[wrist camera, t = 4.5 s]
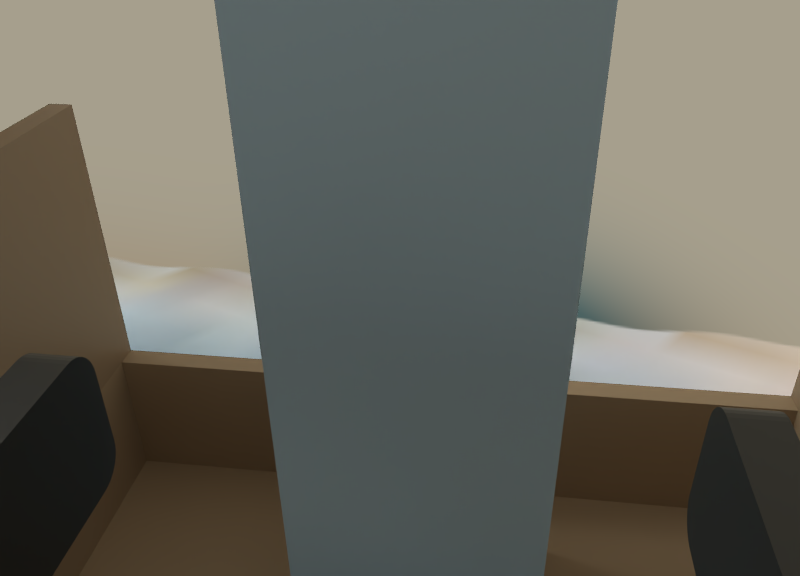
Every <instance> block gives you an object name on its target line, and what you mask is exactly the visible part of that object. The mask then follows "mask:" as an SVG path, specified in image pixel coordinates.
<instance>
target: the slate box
mask: <svg viewBox="0 0 800 576" xmlns="http://www.w3.org/2000/svg"><path fill="white" fill-rule="evenodd" d="M214 1H215V9H216V16H217V24H218V31H219V39H220V47H221V54H222V61H223V69H224V76H225V84H226V92H227V99H228V107H229V115H230V122H231V129H232V137H233V145H234V152H235V160H236V167H237V175H238V182H239V190H240V198H241V205H242V213H243V220H244V228H245V235H246V243H247V250H248V258H249V266H250V273H251V281H252V288H253V296H254V303H255V311H256V318H257V326H258V334H259V341H260V349H261V356H262V364H263V371H264V379H265V386H266V394H267V402H268V409H269V417H270V424H271V432H272V439H273V447H274V454H275V462H276V469H277V477H278V485H279V492H280V500H281V507H282V515H283V522H284V530H285V537H286V545H287V553H288V560H289V568H290V575H291V576H544V571H545V563H546V555H547V548H548V540H549V532H550V524H551V516H552V509H553V501H554V493H555V485H556V477H557V470H558V462H559V454H560V446H561V438H562V431H563V423H564V415H565V407H566V399H567V392H568V384H569V376H570V368H571V360H572V352H573V345H574V337H575V329H576V321H577V313H578V306H579V298H580V289H581V282H582V274H583V267H584V258H585V251H586V243H587V235H588V228H589V219H590V212H591V204H592V196H593V188H594V180H595V173H596V165H597V157H598V149H599V142H600V133H601V126H602V117H603V110H604V103H605V102H604V101H605V95H606V87H607V79H608V71H609V64H610V56H611V48H612V40H613V32H614V24H615V17H616V9H617V1H618V0H214Z"/></svg>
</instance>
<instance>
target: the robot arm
mask: <svg viewBox="0 0 800 576" xmlns="http://www.w3.org/2000/svg"><path fill="white" fill-rule="evenodd" d="M115 459H116V447H115V441H114V437H113V433H112V430H111V426H110V423H109V419H108V415H107V412H106V408H105V404H104V401H103V397H102V394H101V390H100V386H99V383H98V379H97V375H96V372H95V369H94V367H93V365H92V363H91V362H90V361H89V360H88V359H87V358H85V357H78V356H65V355H52V354H39V353H28V354H25V355H23V356H22V357H20V358H19V359H18V360H17V361H16V362H15V363H14V364H13V365H12V366H11V367H10V368H9V369H8V370H7V371H6V372H5V374H4V375H3V376H2V377H1V378H0V576H53V574H54V573H55V571H56V569H57V568H58V566H59V565H60V563H61V561H62V560H63V558H64V557H65V555H66V553H67V552H68V550H69V549H70V547H71V545H72V544H73V542H74V541H75V539H76V537H77V536H78V534H79V533H80V531H81V529H82V528H83V526H84V525H85V523H86V521H87V520H88V518H89V517H90V515H91V513H92V512H93V510H94V509H95V507H96V505H97V504H98V502H99V501H100V499H101V497H102V496H103V494H104V493H105V491H106V489H107V487H108V485H109V483H110V481H111V478H112V475H113V471H114V466H115ZM687 533H688V542H689V548H690V552H691V557H692V561H693V565H694V569H695V574H696V576H800V440H799V438H798V436H797V434H796V431H795V429H794V427H793V425H792V423H791V421H790V419H789V417H788V416H787V415H786V414H785V413H784V412H781V411H770V410H757V409H744V408H730V407H716V408H715V409H714V410H713V411H712V413H711V416H710V419H709V422H708V426H707V430H706V433H705V437H704V441H703V445H702V449H701V453H700V456H699V460H698V464H697V468H696V472H695V476H694V479H693V483H692V487H691V491H690V495H689V500H688V509H687Z"/></svg>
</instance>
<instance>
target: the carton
mask: <svg viewBox="0 0 800 576" xmlns="http://www.w3.org/2000/svg"><path fill="white" fill-rule="evenodd" d="M28 353H39V354H52V355H65V356H78V357H85V358H87V359H88V360H89V361H90V362H91V363H92V365H93V367H94V369H95V372H96V375H97V379H98V383H99V386H100V390H101V394H102V397H103V401H104V404H105V408H106V412H107V415H108V419H109V423H110V426H111V430H112V433H113V437H114V441H115V447H116V459H115V466H114V471H113V475H112V478H111V481H110V483H109V485H108V487H107V489H106V491H105V493H104V494H103V496H102V497H101V499H100V501H99V502H98V504H97V505H96V507H95V509H94V510H93V512H92V513H91V515H90V517H89V518H88V520H87V521H86V523H85V525H84V526H83V528H82V529H81V531H80V533H79V534H78V536H77V537H76V539H75V541H74V542H73V544H72V545H71V547H70V549H69V550H68V552H67V553H66V555H65V557H64V558H63V560H62V561H61V563H60V565H59V566H58V568H57V569H56V571H55V573H54V574H53V576H291V575H290V568H289V560H288V553H287V545H286V537H285V530H284V522H283V515H282V507H281V500H280V492H279V485H278V477H277V469H276V462H275V454H274V447H273V439H272V432H271V424H270V417H269V409H268V402H267V394H266V386H265V379H264V371H263V364H262V359H248V358H234V357H219V356H205V355H191V354H176V353H162V352H148V351H133V350H131V349H130V345H129V341H128V337H127V333H126V329H125V324H124V320H123V316H122V312H121V308H120V304H119V300H118V295H117V291H116V287H115V283H114V279H113V275H112V270H111V266H110V262H109V258H108V254H107V250H106V246H105V242H104V237H103V233H102V229H101V225H100V221H99V217H98V212H97V208H96V204H95V200H94V196H93V192H92V187H91V183H90V179H89V175H88V171H87V167H86V163H85V159H84V154H83V150H82V146H81V142H80V138H79V134H78V130H77V125H76V121H75V117H74V113H73V109H72V105H67V104H48V105H46V106H45V107H43V108H41V109H40V110H38V111H36V112H34V113H33V114H31V115H29V116H28V117H26V118H24V119H22V120H21V121H19V122H17V123H16V124H14V125H12V126H10V127H9V128H7V129H5V130H3V131H2V132H0V378H1V377H2V376H3V375H4V374H5V372H6V371H7V370H8V369H9V368H10V367H11V366H12V365H13V364H14V363H15V362H16V361H17V360H18V359H19V358H20V357H22V356H23V355H25V354H28ZM716 407H730V408H744V409H757V410H770V411H781V412H784V413H785V414H786V415H787V416H788V417H789V419H790V421H791V423H792V425H793V427H794V429H795V431H796V434H797V436H798V438H799V440H800V370H799V374H798V377H797V380H796V383H795V386H794V389H793V392H792V395H791V396H779V395H764V394H750V393H736V392H721V391H707V390H693V389H678V388H664V387H650V386H635V385H621V384H607V383H592V382H578V381H569V384H568V392H567V399H566V407H565V415H564V423H563V431H562V438H561V446H560V454H559V462H558V470H557V477H556V485H555V493H554V501H553V509H552V516H551V524H550V532H549V540H548V548H547V555H546V563H545V571H544V576H696V574H695V569H694V565H693V561H692V557H691V552H690V548H689V542H688V533H687V509H688V500H689V495H690V491H691V487H692V483H693V479H694V476H695V472H696V468H697V464H698V460H699V456H700V453H701V449H702V445H703V441H704V437H705V433H706V430H707V426H708V422H709V419H710V416H711V413H712V411H713V410H714V409H715V408H716Z"/></svg>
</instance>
